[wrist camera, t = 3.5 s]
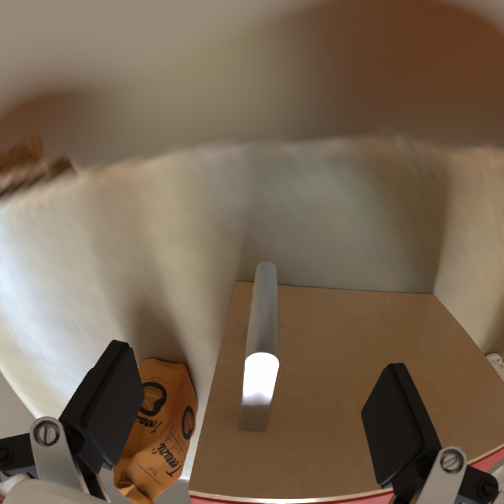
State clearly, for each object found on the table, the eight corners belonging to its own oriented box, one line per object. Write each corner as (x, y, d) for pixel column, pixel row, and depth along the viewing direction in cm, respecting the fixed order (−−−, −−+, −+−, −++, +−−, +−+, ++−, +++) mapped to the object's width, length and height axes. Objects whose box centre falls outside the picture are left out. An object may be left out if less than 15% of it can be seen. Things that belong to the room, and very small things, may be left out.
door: (239, 223, 30) (165, 430, 7) (448, 246, 29) (577, 363, 6) (236, 288, 32) (189, 494, 10) (431, 300, 32) (524, 433, 9)
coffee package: (198, 361, 37) (156, 498, 17) (204, 409, 42) (178, 520, 22) (136, 350, 38) (73, 467, 17) (150, 399, 42) (111, 500, 22)
